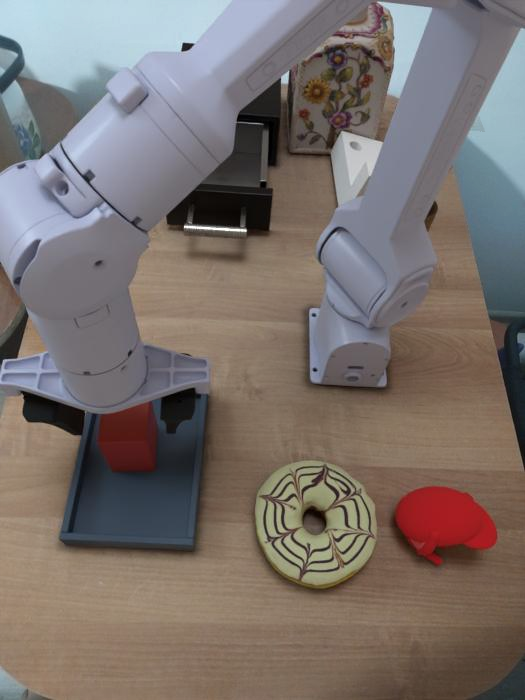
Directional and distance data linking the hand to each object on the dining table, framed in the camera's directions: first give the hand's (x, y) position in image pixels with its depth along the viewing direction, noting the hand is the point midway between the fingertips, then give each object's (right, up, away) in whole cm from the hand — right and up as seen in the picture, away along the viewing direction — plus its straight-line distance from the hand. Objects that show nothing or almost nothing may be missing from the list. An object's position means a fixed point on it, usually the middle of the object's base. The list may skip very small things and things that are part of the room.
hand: (126, 423), depth 47 cm
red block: (-1, -3, +6) cm, 6 cm away
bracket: (+25, +27, +27) cm, 46 cm away
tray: (0, -5, +5) cm, 7 cm away
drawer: (+6, +25, +23) cm, 34 cm away
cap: (+27, -10, +4) cm, 29 cm away
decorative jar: (+21, +38, +33) cm, 54 cm away
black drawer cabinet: (+7, +38, +32) cm, 50 cm away
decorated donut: (+16, -10, +4) cm, 19 cm away
